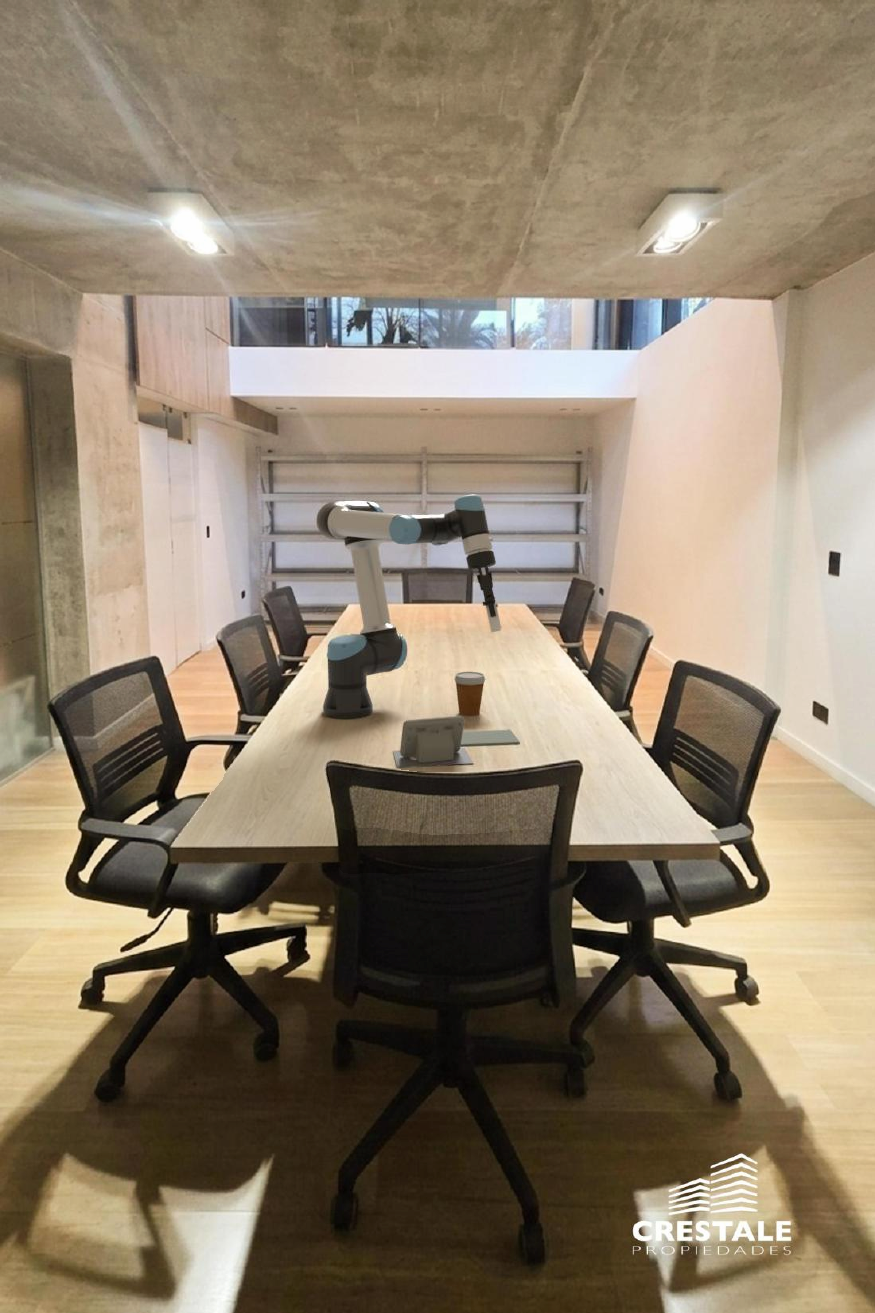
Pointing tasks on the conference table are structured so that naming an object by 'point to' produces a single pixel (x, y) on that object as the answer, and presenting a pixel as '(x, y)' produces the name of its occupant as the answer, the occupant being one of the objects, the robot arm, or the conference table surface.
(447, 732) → the digital clock
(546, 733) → the conference table surface
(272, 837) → the conference table surface
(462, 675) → the disposable coffee cup
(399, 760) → the gray plate
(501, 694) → the conference table surface
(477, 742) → the side mat
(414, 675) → the conference table surface
